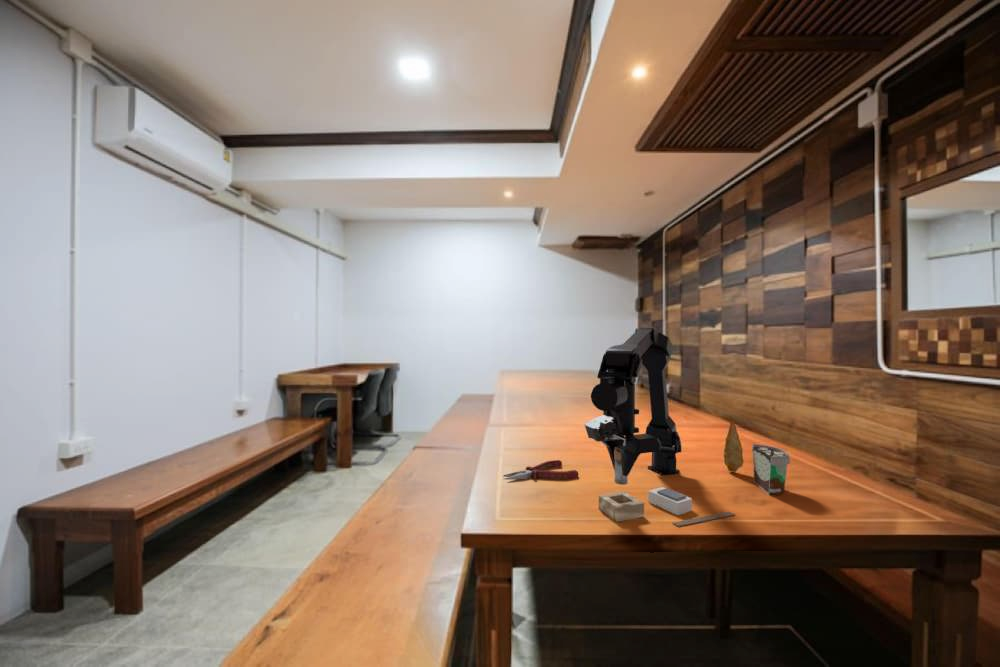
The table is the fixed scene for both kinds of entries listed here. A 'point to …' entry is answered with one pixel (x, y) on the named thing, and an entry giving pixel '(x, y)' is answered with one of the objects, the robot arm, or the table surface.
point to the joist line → (703, 519)
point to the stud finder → (670, 500)
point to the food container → (770, 468)
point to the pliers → (543, 472)
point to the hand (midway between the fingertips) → (621, 473)
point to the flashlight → (619, 468)
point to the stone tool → (733, 449)
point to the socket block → (621, 506)
